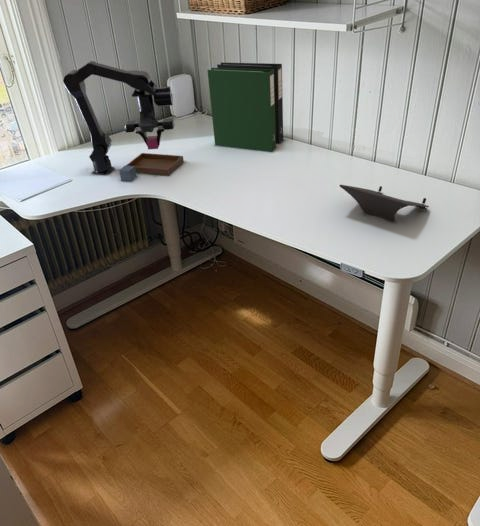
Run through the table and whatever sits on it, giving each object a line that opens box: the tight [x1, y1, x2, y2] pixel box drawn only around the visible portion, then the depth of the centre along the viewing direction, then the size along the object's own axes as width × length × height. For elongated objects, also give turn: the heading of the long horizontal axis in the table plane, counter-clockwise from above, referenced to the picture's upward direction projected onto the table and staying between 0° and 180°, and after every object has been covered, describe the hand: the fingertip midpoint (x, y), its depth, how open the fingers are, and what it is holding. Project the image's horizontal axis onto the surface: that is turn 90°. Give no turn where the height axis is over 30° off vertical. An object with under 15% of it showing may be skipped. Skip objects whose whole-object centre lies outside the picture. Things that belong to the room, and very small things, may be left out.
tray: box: [126, 152, 185, 177], centre depth 199 cm, size 19×14×3 cm
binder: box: [206, 62, 284, 153], centre depth 206 cm, size 27×15×32 cm, turn 66°
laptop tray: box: [339, 184, 430, 223], centre depth 154 cm, size 23×23×9 cm
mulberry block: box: [146, 135, 160, 150], centre depth 194 cm, size 4×4×4 cm
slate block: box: [118, 164, 138, 182], centre depth 191 cm, size 4×4×4 cm
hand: (153, 146), depth 194 cm, fingers closed on mulberry block, 4 cm apart
